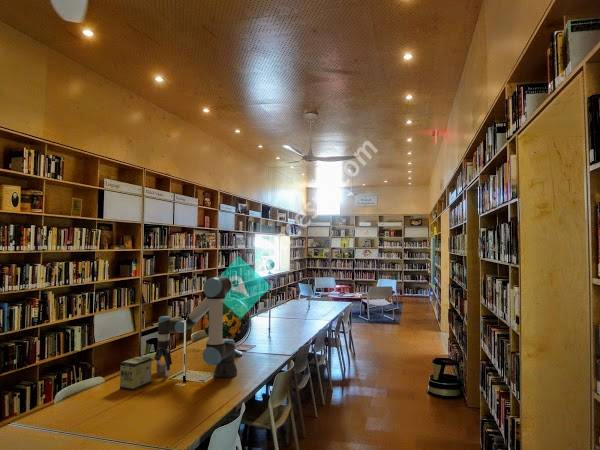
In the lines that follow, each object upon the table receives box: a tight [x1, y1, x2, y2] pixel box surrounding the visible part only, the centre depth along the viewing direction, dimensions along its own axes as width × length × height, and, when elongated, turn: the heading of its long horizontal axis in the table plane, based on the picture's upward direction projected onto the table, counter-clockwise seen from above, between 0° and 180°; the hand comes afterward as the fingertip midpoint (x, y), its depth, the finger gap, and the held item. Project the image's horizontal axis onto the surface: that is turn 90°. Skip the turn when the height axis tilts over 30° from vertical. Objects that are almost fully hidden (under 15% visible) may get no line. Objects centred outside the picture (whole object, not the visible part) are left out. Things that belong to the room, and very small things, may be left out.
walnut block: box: [156, 361, 166, 377], centre depth 270 cm, size 6×6×7 cm
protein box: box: [119, 356, 153, 392], centre depth 248 cm, size 10×16×16 cm
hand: (162, 372), depth 270 cm, fingers open, 13 cm apart
